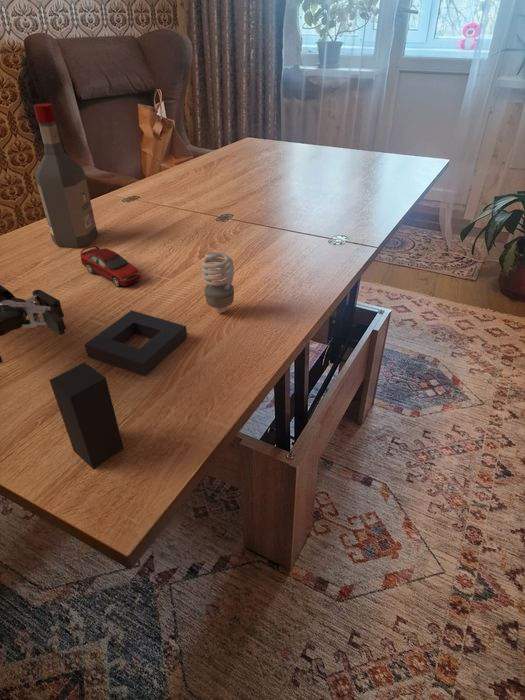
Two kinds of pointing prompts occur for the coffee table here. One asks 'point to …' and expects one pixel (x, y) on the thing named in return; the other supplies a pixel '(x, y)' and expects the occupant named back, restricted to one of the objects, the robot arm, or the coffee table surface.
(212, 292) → the light bulb
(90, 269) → the toy car
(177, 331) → the base pad
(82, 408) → the post
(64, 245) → the liquor
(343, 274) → the coffee table surface
